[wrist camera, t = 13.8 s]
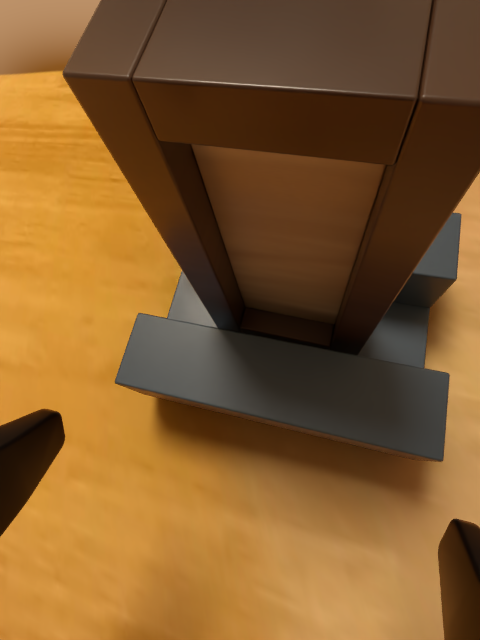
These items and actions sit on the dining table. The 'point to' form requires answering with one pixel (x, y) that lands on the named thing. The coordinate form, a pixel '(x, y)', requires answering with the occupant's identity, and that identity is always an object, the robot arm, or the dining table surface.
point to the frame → (289, 146)
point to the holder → (309, 368)
